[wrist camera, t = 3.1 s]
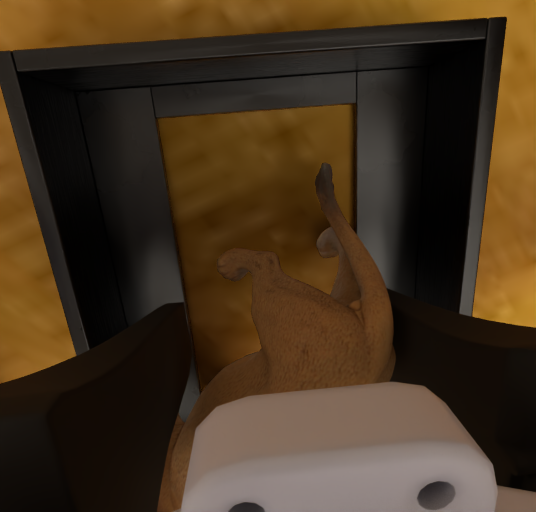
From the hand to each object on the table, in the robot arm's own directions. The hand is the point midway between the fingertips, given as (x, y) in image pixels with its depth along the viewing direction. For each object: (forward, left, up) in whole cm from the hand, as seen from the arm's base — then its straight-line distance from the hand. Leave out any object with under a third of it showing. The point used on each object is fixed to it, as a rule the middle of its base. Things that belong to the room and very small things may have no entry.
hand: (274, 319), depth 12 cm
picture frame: (0, 0, -2) cm, 2 cm away
